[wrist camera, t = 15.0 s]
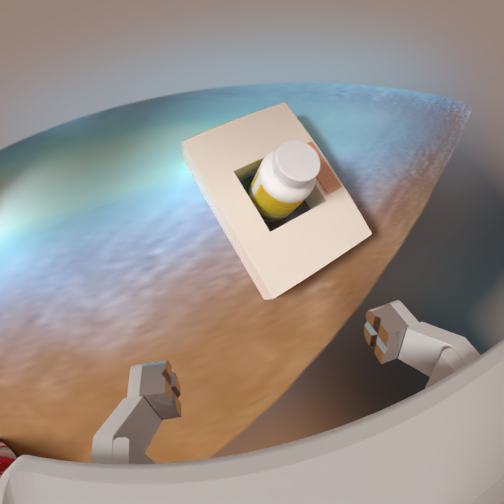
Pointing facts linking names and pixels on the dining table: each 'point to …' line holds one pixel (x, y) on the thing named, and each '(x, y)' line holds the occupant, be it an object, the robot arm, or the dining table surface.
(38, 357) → the dining table surface
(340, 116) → the dining table surface
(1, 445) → the soda can
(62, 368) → the dining table surface
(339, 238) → the socket block
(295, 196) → the supplement bottle
